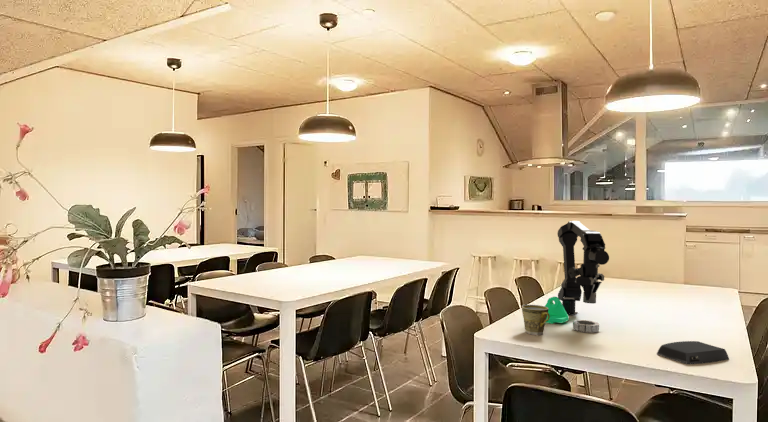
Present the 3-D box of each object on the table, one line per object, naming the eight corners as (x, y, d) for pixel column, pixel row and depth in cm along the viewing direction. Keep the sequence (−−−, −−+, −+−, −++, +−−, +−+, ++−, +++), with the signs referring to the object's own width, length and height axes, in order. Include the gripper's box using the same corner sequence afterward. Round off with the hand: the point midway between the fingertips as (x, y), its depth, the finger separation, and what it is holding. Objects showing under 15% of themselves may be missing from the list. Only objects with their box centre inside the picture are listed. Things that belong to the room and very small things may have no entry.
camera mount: (534, 320, 223) (534, 296, 223) (541, 318, 229) (542, 294, 229) (561, 325, 215) (562, 300, 215) (568, 322, 221) (569, 298, 221)
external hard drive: (654, 354, 177) (654, 343, 177) (695, 350, 184) (695, 338, 184) (688, 366, 165) (689, 353, 165) (731, 361, 172) (732, 349, 172)
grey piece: (577, 325, 215) (577, 318, 215) (601, 329, 209) (601, 322, 209) (569, 329, 207) (569, 322, 207) (594, 334, 202) (594, 326, 201)
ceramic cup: (515, 330, 204) (516, 305, 204) (536, 328, 208) (536, 303, 208) (537, 339, 192) (538, 312, 192) (559, 337, 196) (559, 310, 196)
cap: (585, 300, 220) (585, 290, 220) (597, 302, 217) (597, 292, 217) (581, 302, 217) (581, 292, 216) (593, 303, 213) (594, 293, 213)
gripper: (578, 258, 229) (577, 293, 229) (563, 261, 214) (562, 299, 215) (605, 260, 222) (603, 297, 222) (591, 264, 207) (589, 303, 208)
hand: (589, 299), depth 217 cm, fingers closed on cap, 5 cm apart
